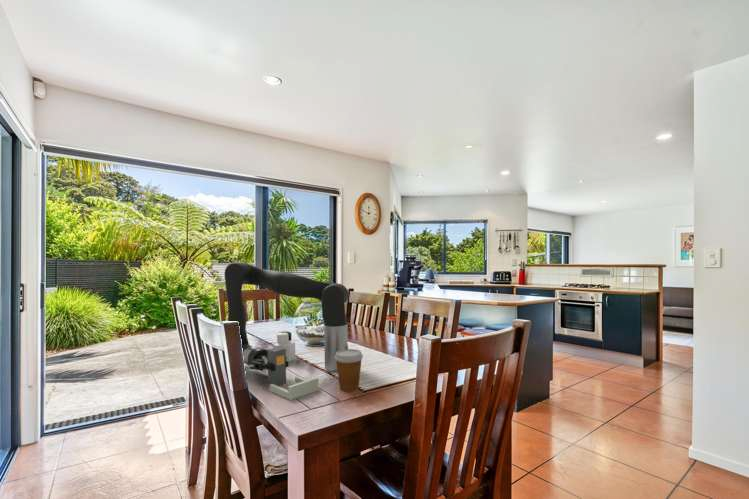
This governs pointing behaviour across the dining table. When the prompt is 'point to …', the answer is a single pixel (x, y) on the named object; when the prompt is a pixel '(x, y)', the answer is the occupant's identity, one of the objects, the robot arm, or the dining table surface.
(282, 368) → the tall gray pillar block
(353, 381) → the disposable coffee cup
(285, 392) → the mount
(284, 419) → the dining table surface
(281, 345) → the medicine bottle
